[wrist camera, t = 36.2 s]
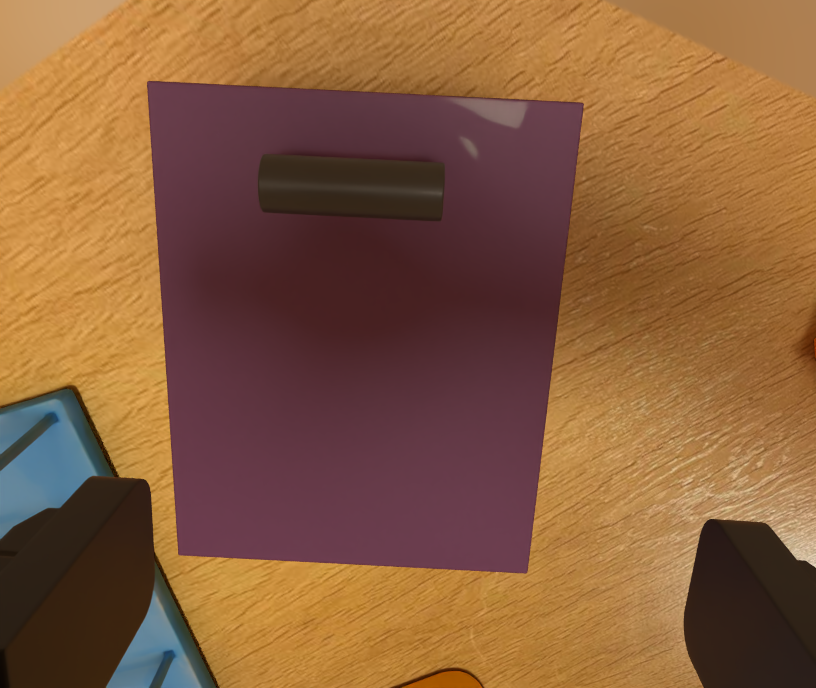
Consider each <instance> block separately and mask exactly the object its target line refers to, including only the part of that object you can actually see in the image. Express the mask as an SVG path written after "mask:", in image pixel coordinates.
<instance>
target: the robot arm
mask: <svg viewBox="0 0 816 688" xmlns="http://www.w3.org/2000/svg"><path fill="white" fill-rule="evenodd" d="M154 583H155V561H154V542H153V523H152V505H151V492H150V487H149V484H148V483H147V481H146V480H144V479H135V478H120V477H105V476H91V477H89V478H88V479H87V480H85V482H84V483H83V484H82V485H81V486H80V487H79V488H78V489H77V490H76V491H75V492H74V493H73V494H72V495H71V497H70V498H69V499H68V500H67V501H66V502H65V503H64V504H63V505H62V506H61V507H60V508H46V509H45V510H43V511H41V512H39V513H37V514H35V515H34V516H32V517H30V518H28V519H26V520H24V521H23V522H21V523H19V524H17V525H15V526H13V527H12V528H11V529H10V530H9V531H8V532H7V533H6V534H5V535H4V536H3V537H2V538H1V539H0V688H106V686H107V685H108V683H109V681H110V679H111V678H112V676H113V674H114V672H115V670H116V669H117V667H118V665H119V663H120V662H121V660H122V658H123V656H124V655H125V653H126V651H127V649H128V647H129V646H130V644H131V642H132V640H133V639H134V637H135V635H136V633H137V631H138V630H139V628H140V626H141V624H142V623H143V621H144V619H145V617H146V615H147V612H148V610H149V607H150V604H151V600H152V596H153V590H154ZM684 636H685V643H686V647H687V651H688V654H689V657H690V659H691V662H692V664H693V666H694V668H695V670H696V672H697V674H698V676H699V678H700V681H701V683H702V685H703V687H704V688H816V568H815V567H814V566H812V565H811V564H809V563H808V562H807V561H801V560H797V559H796V558H795V557H794V556H793V555H792V553H791V552H790V551H789V550H788V548H787V547H786V546H785V545H784V543H783V542H782V541H781V540H780V539H779V537H778V536H777V535H776V534H775V532H774V531H773V530H772V529H771V528H770V527H769V526H768V525H767V524H766V523H762V522H749V521H734V520H719V519H709V520H708V521H707V522H706V523H705V524H704V526H703V528H702V531H701V534H700V538H699V543H698V548H697V553H696V558H695V563H694V567H693V572H692V577H691V582H690V587H689V592H688V596H687V601H686V606H685V612H684Z"/></svg>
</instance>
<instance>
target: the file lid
mask: <svg viewBox="0 0 816 688" xmlns="http://www.w3.org/2000/svg"><path fill="white" fill-rule="evenodd" d="M147 88H148V103H149V118H150V133H151V148H152V163H153V178H154V193H155V209H156V224H157V239H158V254H159V269H160V284H161V299H162V314H163V329H164V344H165V359H166V374H167V389H168V404H169V419H170V434H171V449H172V464H173V479H174V494H175V509H176V524H177V539H178V554H179V555H185V556H204V557H223V558H242V559H261V560H280V561H299V562H318V563H337V564H356V565H375V566H394V567H413V568H432V569H452V570H471V571H490V572H509V573H527V571H528V563H529V555H530V546H531V538H532V530H533V521H534V513H535V505H536V497H537V488H538V480H539V472H540V463H541V455H542V447H543V438H544V430H545V422H546V414H547V405H548V397H549V389H550V380H551V372H552V364H553V355H554V347H555V339H556V331H557V322H558V314H559V306H560V297H561V289H562V281H563V272H564V264H565V256H566V248H567V239H568V231H569V223H570V214H571V206H572V198H573V189H574V181H575V173H576V165H577V156H578V148H579V140H580V131H581V123H582V115H583V106H584V104H583V103H578V102H559V101H539V100H519V99H499V98H479V97H459V96H439V95H420V94H400V93H380V92H360V91H340V90H320V89H300V88H280V87H260V86H240V85H220V84H200V83H180V82H160V81H148V82H147Z"/></svg>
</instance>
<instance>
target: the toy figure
mask: <svg viewBox="0 0 816 688" xmlns="http://www.w3.org/2000/svg"><path fill="white" fill-rule="evenodd" d="M814 349H815V359H816V338H814Z"/></svg>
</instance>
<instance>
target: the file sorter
mask: <svg viewBox="0 0 816 688" xmlns="http://www.w3.org/2000/svg"><path fill="white" fill-rule="evenodd" d="M91 476H105V477H114V475H113V473H112V471H111V469H110V467H109V465H108V463H107V461H106V459H105V457H104V455H103V453H102V450H101V448H100V446H99V444H98V442H97V440H96V438H95V436H94V434H93V432H92V430H91V428H90V426H89V423H88V421H87V419H86V417H85V415H84V413H83V411H82V409H81V407H80V405H79V402H78V400H77V398H76V396H75V394H74V393H73V391H72V390H71V389H63V390H60V391H57V392H54V393H50V394H47V395H44V396H41V397H38V398H34V399H31V400H28V401H24V402H21V403H17V404H14V405H11V406H7V407H4V408H1V409H0V539H1V538H2V537H3V536H4V535H5V534H6V533H7V532H8V531H9V530H10V529H11V528H12V527H13V526H15V525H17V524H19V523H21V522H23V521H24V520H26V519H28V518H30V517H32V516H34V515H35V514H37V513H39V512H41V511H43V510H45V509H46V508H60V507H61V506H62V505H63V504H64V503H65V502H66V501H67V500H68V499H69V498H70V497H71V495H72V494H73V493H74V492H75V491H76V490H77V489H78V488H79V487H80V486H81V485H82V484H83V483H84V482H85V480H87V479H88V478H89V477H91ZM154 561H155V560H154ZM106 688H216V686H215V684H214V682H213V680H212V678H211V676H210V674H209V672H208V670H207V668H206V666H205V664H204V662H203V660H202V658H201V656H200V653H199V651H198V649H197V647H196V645H195V643H194V641H193V639H192V637H191V635H190V633H189V630H188V628H187V626H186V624H185V622H184V620H183V618H182V616H181V614H180V612H179V610H178V608H177V606H176V604H175V602H174V600H173V598H172V596H171V594H170V591H169V589H168V587H167V585H166V583H165V581H164V579H163V577H162V575H161V573H160V570H159V568H158V566H157V564H156V562H155V583H154V590H153V596H152V600H151V604H150V607H149V610H148V612H147V615H146V617H145V619H144V621H143V623H142V624H141V626H140V628H139V630H138V631H137V633H136V635H135V637H134V639H133V640H132V642H131V644H130V646H129V647H128V649H127V651H126V653H125V655H124V656H123V658H122V660H121V662H120V663H119V665H118V667H117V669H116V670H115V672H114V674H113V676H112V678H111V679H110V681H109V683H108V685H107V686H106Z"/></svg>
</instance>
